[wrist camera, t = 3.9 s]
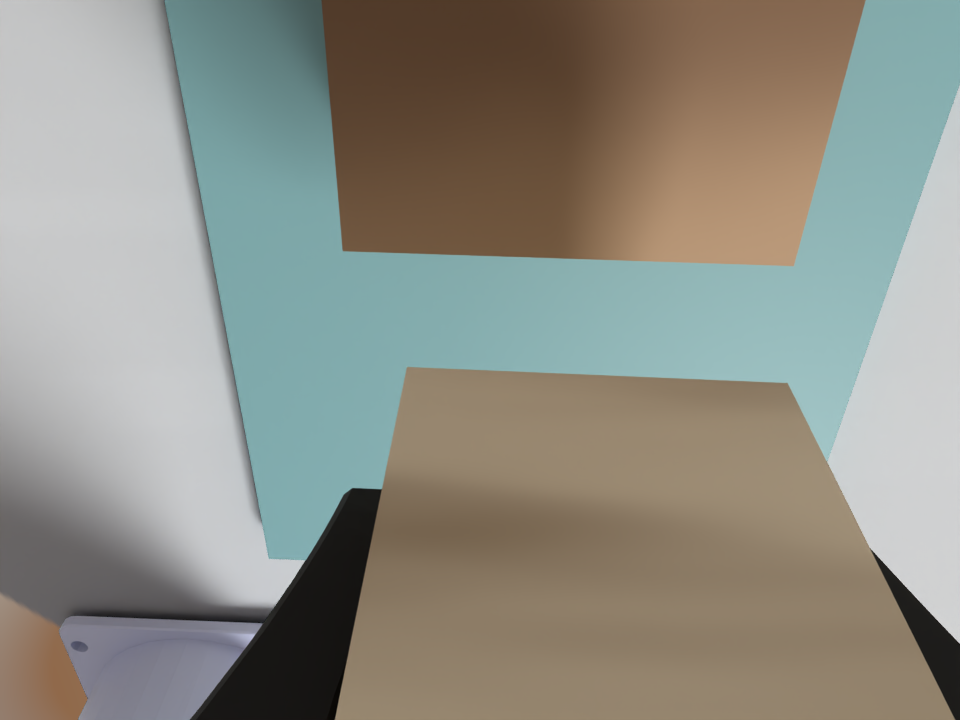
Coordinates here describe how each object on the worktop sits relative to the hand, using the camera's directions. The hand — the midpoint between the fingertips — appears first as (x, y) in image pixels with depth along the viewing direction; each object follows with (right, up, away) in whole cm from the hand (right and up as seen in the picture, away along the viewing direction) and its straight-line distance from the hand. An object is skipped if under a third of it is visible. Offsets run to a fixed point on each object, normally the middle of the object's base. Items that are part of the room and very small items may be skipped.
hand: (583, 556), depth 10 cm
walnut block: (0, +9, +3) cm, 10 cm away
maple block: (0, 0, +1) cm, 1 cm away
